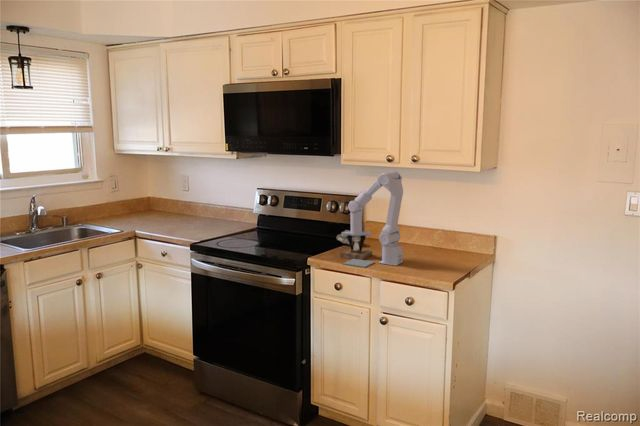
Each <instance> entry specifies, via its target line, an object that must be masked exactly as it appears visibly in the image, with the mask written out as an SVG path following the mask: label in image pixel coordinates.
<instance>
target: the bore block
mask: <svg viewBox="0 0 640 426" xmlns="http://www.w3.org/2000/svg"><path fill="white" fill-rule="evenodd" d="M371 256H373V250H372V249H363V248H362V250H361V251H360V253H354V252H352V251H351V247H350V248H347V249H345V250H343V251H341V252H340V253H339V257H340V258H342V257H343V258H342V259H348V258H350V260H351V259H359V260H365V259H367V258H370V257H371Z"/></svg>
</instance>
